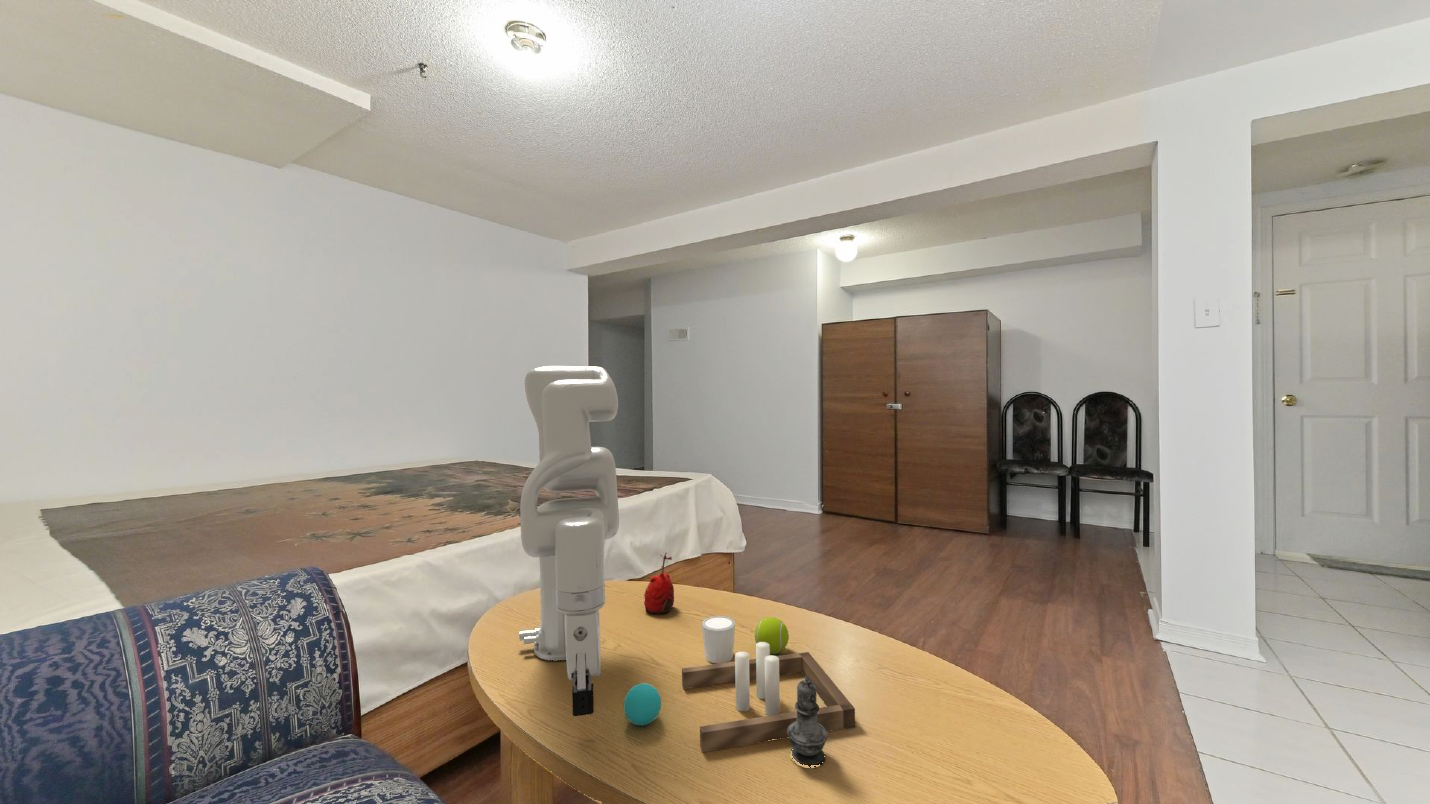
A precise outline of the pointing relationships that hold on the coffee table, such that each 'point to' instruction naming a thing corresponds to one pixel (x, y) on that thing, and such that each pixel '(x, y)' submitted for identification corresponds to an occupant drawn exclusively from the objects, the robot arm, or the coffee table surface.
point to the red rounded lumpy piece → (659, 592)
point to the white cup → (718, 638)
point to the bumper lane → (772, 726)
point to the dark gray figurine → (807, 727)
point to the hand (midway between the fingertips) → (583, 712)
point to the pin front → (742, 681)
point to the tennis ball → (772, 634)
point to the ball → (642, 704)
